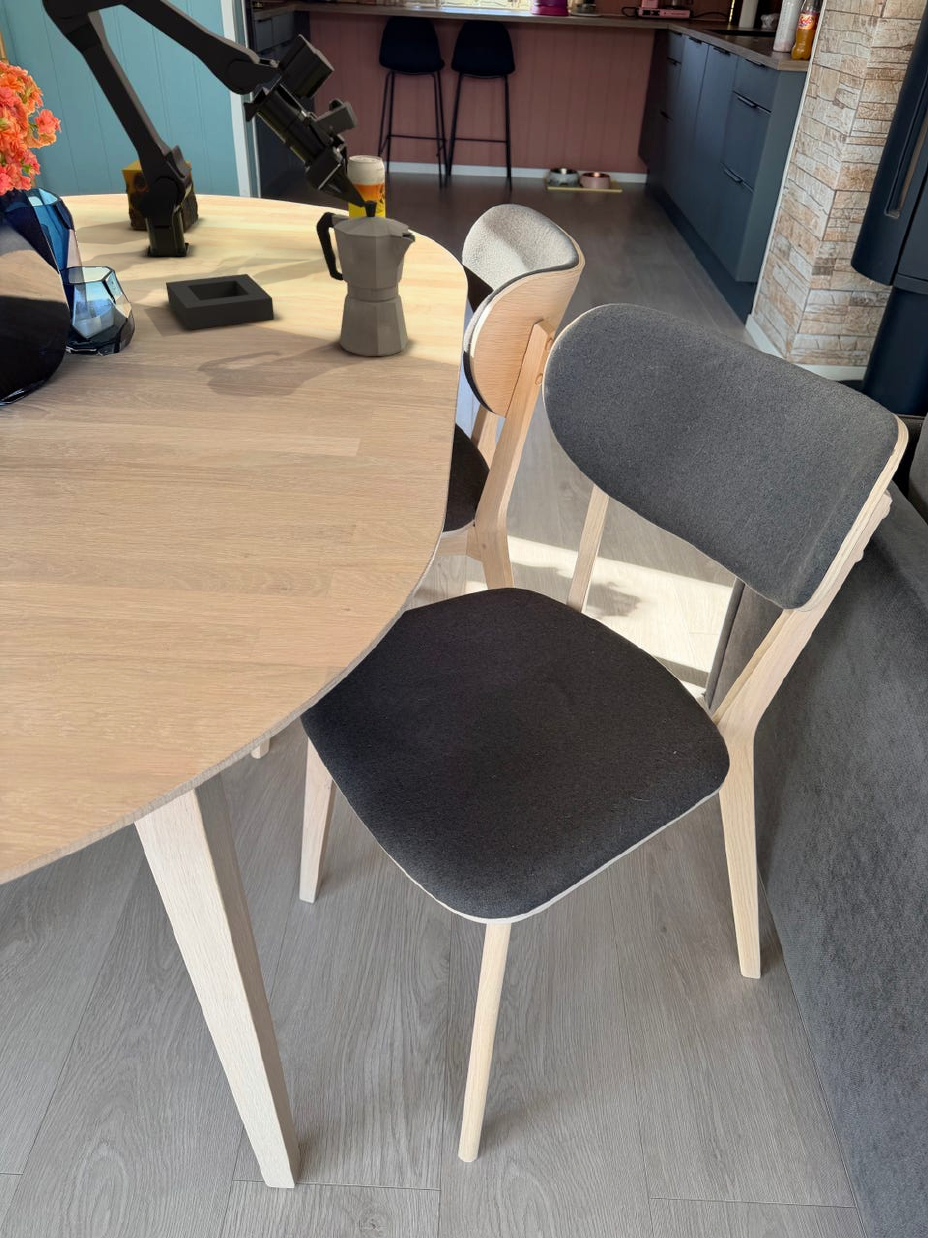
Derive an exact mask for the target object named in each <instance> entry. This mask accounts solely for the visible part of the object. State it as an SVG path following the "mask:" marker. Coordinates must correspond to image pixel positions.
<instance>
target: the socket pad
mask: <svg viewBox="0 0 928 1238" xmlns="http://www.w3.org/2000/svg"><path fill="white" fill-rule="evenodd" d="M165 287H166V293H167V300H168V304H169V306H171V308H172V309H173V311H174V312H175V313H176V314H177V316H178V317H179V318H180V320H181V321H182V322H183V323H184V325H185V326H186V327H187V328H188V330H189V331H191V330H198V329H207V328H215V327H222V326H231V325H237V324H246V323H254V322H260V321H261V322H262V321H269V320H274V319H275V314H274V304H273V297H272V296H271V295H270V294H269V293H267V291H266V290H264V288H263V287H261V285H259V284H258V283H257V282H256V281H255V280H254V279H253V277H251V276H250V275H249V274H248V273H244V274H233V275H224V276H214V277H206V278H205V277H204V278H195V279H185V280H177V281H168V282H165Z"/></svg>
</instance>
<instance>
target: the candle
mask: <svg viewBox="0 0 928 1238" xmlns="http://www.w3.org/2000/svg"><path fill="white" fill-rule="evenodd" d="M185 161H186V163H187V164H188V165H189V166H190V167H191V168H192V164H191V161H190V160H189V161H188V160H185ZM121 172H122V177H123V180H124V183H125V193H126V195H127V203H128V217H129V221H130V226H131V228H132V229H134V230H137V231H138V230H139V231H148V230H147V224H146V218H143V217H142V215H141V213H140V211H139V209H138V207H137V205H138V203H139V202H140V201H141V200H142V198H143V197H144V196H145V195H146V194H147V192H148V191H149V189H148V186H147V184H146V181H145V179H144V176H143V173H142V169H141V166H140V162H139V159H136V160H134V161H133V162H131V163H130V164H128V166H126V167H124V168H122V169H121ZM189 173H190V175H191V178H192V186H191V190H190V192H189V193H188V195H187V196H186V197H185V199H184V200H183V201H182V204H181V207H179V208H178V210H179V211H180V212H181V219H182V226H183V232H186V231H188V230H189V229H191V227H192V226H193V225H194V224H195V223H196V222H197V221H198V220H199V205H198V204H199V203H198V201H197V196H196V192H195V185H194V180H193V172H192V170H191V171H190V172H189Z"/></svg>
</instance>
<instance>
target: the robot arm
mask: <svg viewBox="0 0 928 1238" xmlns="http://www.w3.org/2000/svg"><path fill="white" fill-rule="evenodd" d="M41 4H42V7H43V10H44V12H45V13H46V16H48V18H49V19H50V21H52V23H53V24H54V25H55V27H56V28H57V29H58V31H59V32H60V33H61V35H62V36H63V37H64V38H65V39H66V41H68V42H69V43H70V44H71V45H72V46H73V47H74V48H75V49H76V50H77V51H78V52H79V54H80V55H81V56H82V58H83V59H84V62H85V63H86V65H87V66H88V69H89V70H90V72H91V73H92V75H93V77H94V79H95V81H96V82H97V85H98V86H99V88H100V89H101V91H102V93H103V95H104V96H105V98H106V100H107V102H108V104H109V105H110V107H111V109H112V110H113V112H114V114H115V116H116V118H117V120H118V121H119V123H120V124H121V127H122V128H123V130H124V132H125V133H126V135H127V137H128V138H129V141H130V143H131V144H132V146H133V147H134V149H135V151H136V154H137V157H138V160H139V162H140V166H141V169H142V173H143V176H144V179H145V181H146V184H147V186H148V189H149V191H148V192H147V194H146V195H145V196H144V197H143V198H142V200H141V201H140V202H139V203H138V205H137V207H138V209H139V211H140V213H141V215H142V217H143V218H146V224H147V230H146V231H147V236H148V240H149V245H148V248H147V250H146V252H145V253H146V256H147V257H180V256H181V257H184V256H185V257H186V256H188V254H189V249H190V243H189V242H186V241H185V234H184V231H183V226H182V219H181V212H180V211H179V210H178V208H179V207H181V204H182V201H183V200H184V199H185V197H186V196H187V195H188V193H189V192H190V190H191V186H192V179H193V177H192V178H191V175H190V173H189V172H190V171H191V172H192V170H193V168H192V166H191V167H190V166H189V165H188V164H187V163H186V161H187V160H185V158H184V156H183V153H182V150H181V148H180V146H179V145H178V144H176V145H174V146H173V147H172V148H171V147H170V146H169V145H168V144H167V143H166V142H165V141H164V140H163V139H162V138H161V136H160V134H159V132H158V131H157V129H156V127H155V125H154V123H153V121H152V120H151V118H150V116H149V115H148V113H147V111H146V109H145V108H144V105H143V103H142V101H141V100H140V98H139V96H138V94H137V93H136V90H135V89H134V87H133V85H132V84H131V81H130V79H129V78H128V76H127V75H126V72H125V70H124V69H123V67H122V65H121V63H120V61H119V60H118V58H117V55H116V54H115V53H114V51H113V48H112V46H111V45H110V43H109V41H108V37H107V33H106V29H105V25H104V21H103V17H102V15H101V13H100V10H105V9H110V8H114V7H117V6H123V7H125V8H127V9H128V10H129V11H131V12H132V13H134V14H135V15H137V16H138V17H140V18H141V19H143V20H144V21H145V22H146V23H148V24H150V25H151V26H152V27H154V28H155V29H157V30H158V31H160V32H161V33H163V34H164V35H166V37H168V38H170V39H171V40H173V41H174V42H176V43H177V44H178V45H180V46H181V47H183V48H184V49H186V50H187V51H188V52H190V53H191V54H193V55H194V56H195V57H196V58H198V59H199V61H201V62H202V63H203V64H204V66H205V67H206V68H207V69H208V70H209V71H210V73H211V74H212V75H213V76H214V77H215V78H216V79H218V81H220V83H222V85H224V86H225V87H226V88H227V89H228V90H229V92H231V93H234V94H236V95H237V96H238V95H239V96H246V95H250V94H251V93H252V92H254V91H255V90H256V89H257V88H258V87H259V85H262V84H267V83H270V82H272V81H273V79H274V78H275V77H276V75H277V74H279V75H280V78H279V79H278V80H277V81H276V83H275V84H274V85H273V86H272V87H271V89H270V90H269V89H268V88H266V87H264V86H262V87H261V89H260V90H259V91H258V92H257V94H256V95H255V96H254V97H253V98H252V99H251V100H244V101H243V102H242V106H243V108H244V117H245V118H244V120H245V122H246V123H247V124H248V123H251V121H252V120H253V119H254V117H255V116H256V115H257V116H259V118H261V119H262V121H263V122H264V123H265V124H266V125H267V126H268V127H269V128H270V129H271V130H272V131H273V132H274V133H275V134H276V135H277V136H278V137H279V138H280V139H281V140H282V141H283V146H284V147H285V148H286V149H287V150H289V149H291V150H292V151H293V153H294V154H295V155H296V156H297V157H299V159H300V160H301V161H302V162H303V167H305V169H306V170H305V180H306V182H307V183H308V185H310V187H311V188H312V189H313V190H314V191H317V190H318V192H320V193H325V194H327V195H329V196H332V197H334V198H337V199H339V200H342V201H344V202H346V203H348V202H349V203H351V204H353V205H356V206H358V207H360V208H362V207H363V206H364V202H365V200H364V199H363V197H362V196H361V195H360V193H359V192H358V190H357V189H356V187H355V186H354V184H353V183H352V182H351V180H350V179H349V177H348V176H347V165H348V162H349V159H348V144H347V143H345V141H346V139H345V138H344V137H343V135H342V134H341V133H344V132H345V131H347V130H348V131H349V130H350V131H351V130H352V129H354V128H356V127H358V125H359V123H358V119H357V116H356V114H355V112H354V109H353V107H352V105H351V103H350V101H345V102H343V101H342V100H340V99H339V98H338V97H336V98H334V99H332V100H330V101H329V102H328V111H325V112H324V113H323V114H321V115H320V116H318V117H317V115H316V114H315V113H314V112H313V111H311V112H310V111H307V110H306V109H304V107H303V106H302V105H301V104H300V103H299V102H298V101H297V100H296V99H295V98H294V96H295V97H296V98H298V99H299V100H302V99H303V98H305V97H306V98H307V99H308V100H312V99H313V97H314V96H315V95H316V94H317V92H318V91H319V90H320V89H321V87H322V86H323V85H324V84H325V83H326V81H328V79H329V78H330V77H331V76H332V75H333V73H334V72H335V69H334V67H333V65H332V64H331V63H330V62H329V60H328V59H327V58H326V57H325V56H324V54H323V53H322V52H321V51H320V50H319V49H316V47H314V45H312V44H311V43H310V41H308V40H307V39H306V38H305V37H304V36H303V35H302V34H298V35H297V36H296V38H295V39H294V41H293V42H292V44H291V46H290V48H289V49H288V50H287V51H286V53H285V54H284V55H283V56H282V58H281V59H280V60H274V59H268V58H262V57H260V56H259V55H258V54H257V53H256V52H255V51H254V50H253V49H250V48H249V47H246V46H245V45H242V44H240V43H238V42H236V41H234V40H232V39H230V38H227V37H225V36H222V35H220V34H218V33H215V32H213V31H212V30H209V29H208V28H207V27H205V26H204V25H202V24H201V23H199V22H198V21H197V20H195V19H194V18H193V17H191V16H190V15H188V14H187V13H186V12H184V11H183V10H181V9H180V8H179V7H177V6H176V5H174V4H173V3H171V1H169V0H41ZM282 83H283V84H284V85H285V86H286V88H287V89H288V90H289V91H290V92H291V93H292V94H293V95H294V96H293V95H292V94H291V93H290V92H289V91H288V90H287V89H286V88H285V87H284V86H283V85H282ZM341 145H342V147H341V148H339V147H340V146H341ZM349 203H348V204H349Z"/></svg>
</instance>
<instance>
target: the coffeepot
mask: <svg viewBox="0 0 928 1238" xmlns="http://www.w3.org/2000/svg"><path fill="white" fill-rule="evenodd" d="M364 206H365V211H366V216H362V217H356V218H351V219H350V218H349V215H346V214H341V213H335V212H331V211H325V212H324V213H323V214H322V215H321V217H320V218H319V220H318V221H317V223H316V225H315V231H316V235H317V238H318V240H319V243H320V246H321V250H322V254H323V257H324V261H325V264H326V267H327V270H328V273H329V276H330V278H332V279H334V280H336V281H340V282H342V281H344V282H345V283H346V289H347V293H346V295H345V297H344V302H343V309H342V318H341V319H342V320H341V327H340V336H339V345H340V346H341V347H342V348H343V349H344V350H345V351H347V352H348V353H351V354H354V355H358V356H363V357H364V356H365V357H384V356H391V355H395V354H399V353H400V352H402V351H404V349H405V348H406V347H407V344H408V342H409V338H408V332H407V331H408V330H407V325H406V319H405V314H404V307H403V303H402V297H401V295H400V294H399V284H400V282H401V280H402V278H403V271H404V263H405V257H406V254H407V251H408V250H409V248H410V247H411V245H412V244H413V243H415V242H416V240H417V239H416V235H414V234H413V233H412V232H411V231H409V225H408V224H405V223H403V222H400V221H398V220H396V219H395V218H394V219H393V218H388V217H385V218H384V217H379V216H375V214H376V208H377V202H375V201H372V200H368V201H365V202H364ZM330 229H333V232H334V238H335V243H336V248H337V254H338V259H339V260H338V261H339V265H340V271H341V272H340V271H339V270H338V269H337V258H336V254H335V251H334V249H333V244H332V237H331V234H330V233H331V232H330Z"/></svg>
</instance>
